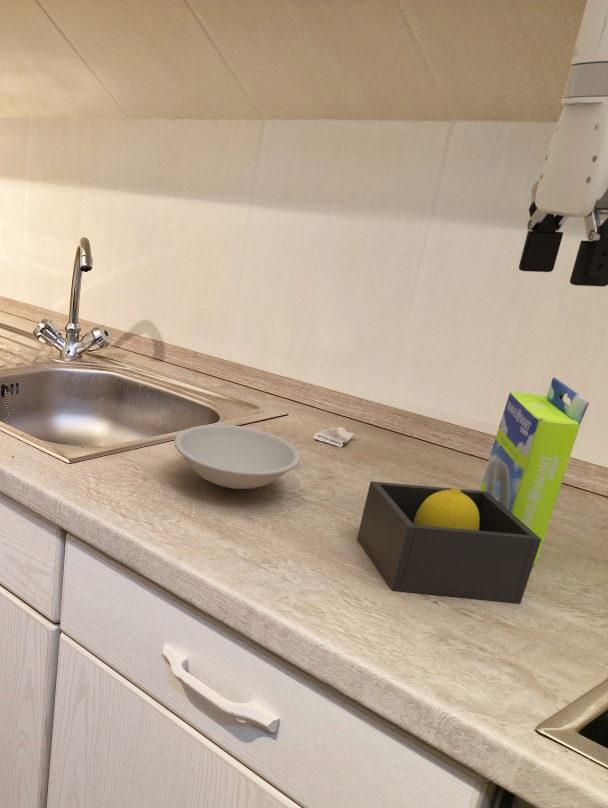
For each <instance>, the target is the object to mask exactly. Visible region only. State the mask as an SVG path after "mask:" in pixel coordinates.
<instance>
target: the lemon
mask: <svg viewBox="0 0 608 808" xmlns="http://www.w3.org/2000/svg"><path fill="white" fill-rule="evenodd" d="M451 488H452V489H450V490H444V491H439V492H437V493H434V494H432V495H430V496H429V497H428V498H427V499H426V500H425V501H424V502H423V503H422V505H421V506H420V508H419V510H418V511H417V514H416V516H415V519H414V523H413V524H414V525H424V526H435V527H446V528H457V529H468V530H478V531H479V522H480V518H479V511H478V508H477V506H476V505H475V503H474V502H473V501H472V500H471V499H470V498H469V497H468V496H467V495H465V494H463V493H462V492H461V491H460V489H461V488H457V487H451Z"/></svg>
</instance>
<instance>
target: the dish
mask: <svg viewBox="0 0 608 808" xmlns="http://www.w3.org/2000/svg"><path fill="white" fill-rule="evenodd" d="M174 446H175V449H176V450H177V451H178V453H179V454H180V455H181V456H182V457H183V458H184V460H185V461H186V463H187V464H188V466H189V467H190V468H191V469H192V470H193V472H195V473H196V474H197V475H199V477H201V478H203V479H204V480H206V481H208V482H210V483H212V484H215V485H217V486H221V487H224V488H228V489H238V490H247V489H256V488H261V487H263V486H267V485H269V484H271V483H272V482H274V481H276V480H278V479H280V478H281V477H282V476H284V475H285V474H286V473H288V472H290V471H292V470H294V469H295V468H297V467H298V465H299V464H300V462H301V460H302V459H301V453H300V452H299V450H298V448H297V447H296V446H295V445H294V444H292V443H290V442H289V441H287V440H286V439H284V438H282V437H280V436H277V435H275V434H272V433H270V432H267V431H263V430H260V429H256V428H253V427H248V426H247V427H246V426H241V425H232V424H231V425H230V424H205V425H197V426H193V427H188V428H186V429H184V430H182V431H180V432H179V433H178V434H177V435H176V436H175V438H174Z"/></svg>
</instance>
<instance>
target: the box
mask: <svg viewBox="0 0 608 808" xmlns="http://www.w3.org/2000/svg"><path fill="white" fill-rule="evenodd" d="M565 395H566V397H567V398H568V399H569V400H570V403H569V405H568V403H567V402H565V401H564V397H565ZM589 404H590V401H588V399H586V398H584V397H583V396H582V395H580V394H579V393H578V392H576V391H575V390H573V389H572V388H570V386H568V385H567V384H565V383H564V382H562V381H560V380H559V379H557V377H552V379H551V382H550V385H549V389H548V391H547V395H541V394H532V393H526V392H518V391H511V392H509V393H508V397H507V400H506V404H505V407H504V410H503V414H502V416H501V419H500V420H501V421H500V423H499V426H498V429H497V432H496V436H495V438H494V442H493V446H492V449H491V451H490V455H489V459H488V461H487V466H486V469H485V472H484V475H483V479H482V481H481V484H480V488H479V491H487V492H488V493H489V494H490V495H492V496H493V497H494V498H495V499H496V500H497V501H498V502H500V503H501V504H502V505H503V506H504V507H505V508H506V509H508V510H509V511H510V512H511V513H512V514H513V515H514V516H516V517H517V518H518V519H519V520H520V521H521V522H522V523H524V524H525V525H526V526H527V527H528V528H529V529H530V530H532V531H533V532H534V533H535V534H536V535H537V536H538V537H540V538H541V542H540V545H539V548H538V551H537V555H536V558H535V561H534V564H533V566H536V565H537V564H538V559H539V556H540V552H541V549H542V546H543V543H544V540H545V537H546V534H547V531H548V528H549V525H550V522H551V518H552V515H553V512H554V509H555V507H556V502H557V499H558V496H559V493H560V490H561V486H562V484H563V481H564V477H565V474H566V471H567V468H568V465H569V461H570V458H571V455H572V452H573V448H574V445H575V444H576V443H575V442H576V440H577V436H578V433H579V430H580V427H581V424H582V421H583V419H584V417H585V414H586V411H587V409H588V407H589Z"/></svg>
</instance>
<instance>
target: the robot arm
mask: <svg viewBox="0 0 608 808" xmlns="http://www.w3.org/2000/svg"><path fill="white" fill-rule="evenodd" d="M563 88H564V89H563V92H562V96H561V101H560V104H559V105H560V106H563V108H562V111H561V114H560V116H559V119H558V122H557V124H556V127H555V129H554V132H553V135H552V138H551V141H550V143H549V147H548V150H547V153H546V156H545V159H544V162H543V166H542V170H541V174H540V176H539V180H537V181H536V182H534V183H533V185H532V187H531V192H530V193H531V195H530V196H531V197H530V198H531V201H530V205H529V208H528V212H529V220H528V221H527V224H526V229H527V233H526V237H525V241H524V245H523V250H522V252H521V256H520V259H519V260H520V261H519V264H518V270H519V271H522V272H536V273H551V272H553V271H554V269H555V265H556V261H557V257H558V255H559V251H560V247H561V243H562V240H563V236H564V232H563V231H560V229H561V228H562V227H563V226H564V224H565V223H566V222H567V221H568V219H569V218H579V219H580V218H583V220H584V227H585V233H586V239H587V240H580V243H579V246H578V249H577V252H576V253H577V254H576V257H575V260H574V264H573V268H572V270H571V275H570V279H569V283H570V284H571V285H573V286H578V287H579V286H581V287H583V286H584V287H607V286H608V0H586V4H585V7H584V11H583V15H582V19H581V22H580V27H579V30H578V35H577V39H576V43H575V46H574V51H573V53H572V57H571V63H570V67H569V68H568V73H567V76H566V80H565V85H564V87H563ZM601 221H603V222H602V223H601Z"/></svg>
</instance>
